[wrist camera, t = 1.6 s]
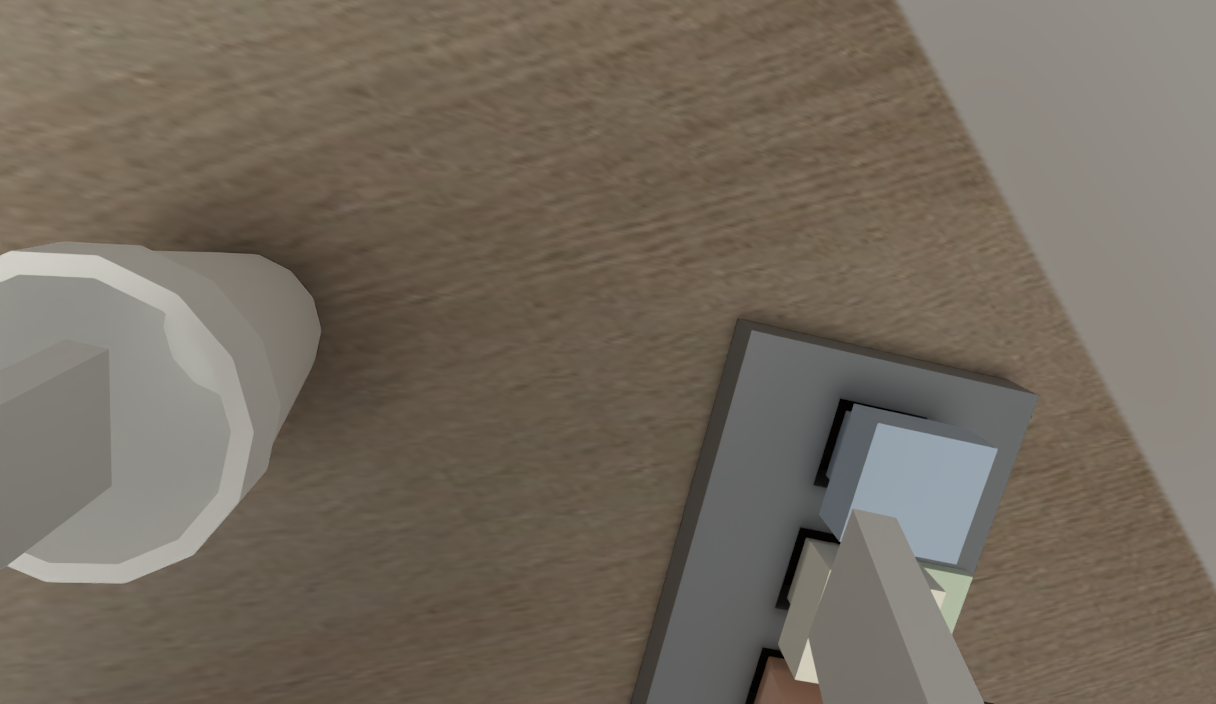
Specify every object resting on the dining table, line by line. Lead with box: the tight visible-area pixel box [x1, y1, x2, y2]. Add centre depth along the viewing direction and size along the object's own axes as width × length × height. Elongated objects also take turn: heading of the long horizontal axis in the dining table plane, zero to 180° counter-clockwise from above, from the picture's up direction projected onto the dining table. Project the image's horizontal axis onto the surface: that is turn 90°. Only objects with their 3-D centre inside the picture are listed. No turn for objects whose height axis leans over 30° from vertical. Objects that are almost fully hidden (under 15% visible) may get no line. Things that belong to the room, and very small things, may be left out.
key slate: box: [819, 404, 998, 564], centre depth 33 cm, size 5×5×5 cm
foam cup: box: [0, 242, 322, 583], centre depth 28 cm, size 10×9×13 cm
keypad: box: [631, 319, 1039, 704], centre depth 38 cm, size 26×13×3 cm, turn 166°
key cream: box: [778, 538, 946, 684], centre depth 34 cm, size 5×5×5 cm
